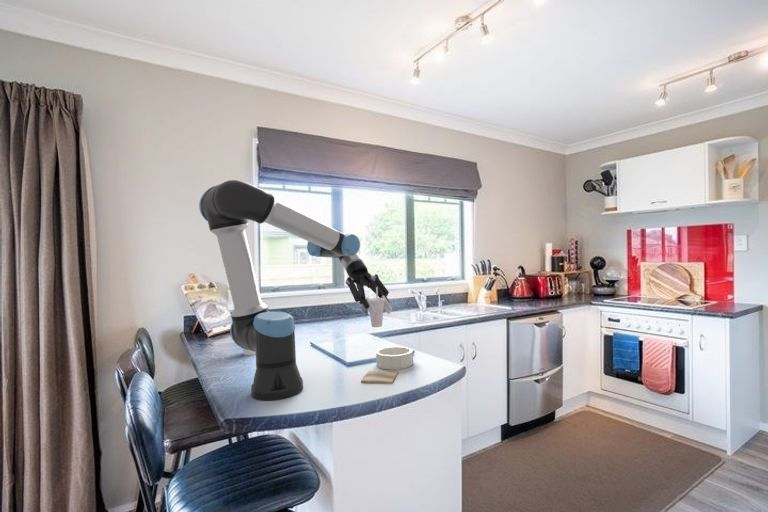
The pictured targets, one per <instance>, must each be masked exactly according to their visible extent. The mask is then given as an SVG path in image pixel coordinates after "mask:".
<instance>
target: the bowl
mask: <svg viewBox="0 0 768 512" xmlns="http://www.w3.org/2000/svg"><path fill="white" fill-rule="evenodd" d="M375 354H376V355H375V358H376V366H377V368H379V369H382V370H385V371H386V370H387V371H396V370H403V369H407V368H410V367H413V364H414V355H413V354H414V351H413V349H412V348H411V347H407V346H399V345H398V346H386V347H382V348H379V349H377V350H375Z"/></svg>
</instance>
